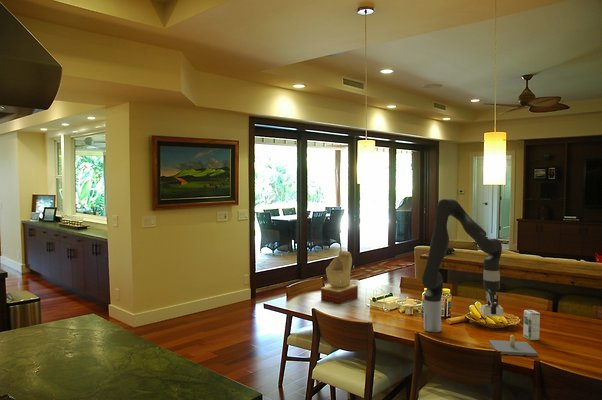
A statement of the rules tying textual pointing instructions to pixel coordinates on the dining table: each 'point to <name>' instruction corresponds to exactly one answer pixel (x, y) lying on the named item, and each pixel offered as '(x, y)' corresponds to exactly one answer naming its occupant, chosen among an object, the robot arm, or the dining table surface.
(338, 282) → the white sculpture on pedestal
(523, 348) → the board
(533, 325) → the syrup box
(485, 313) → the steel link
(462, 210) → the robot arm
